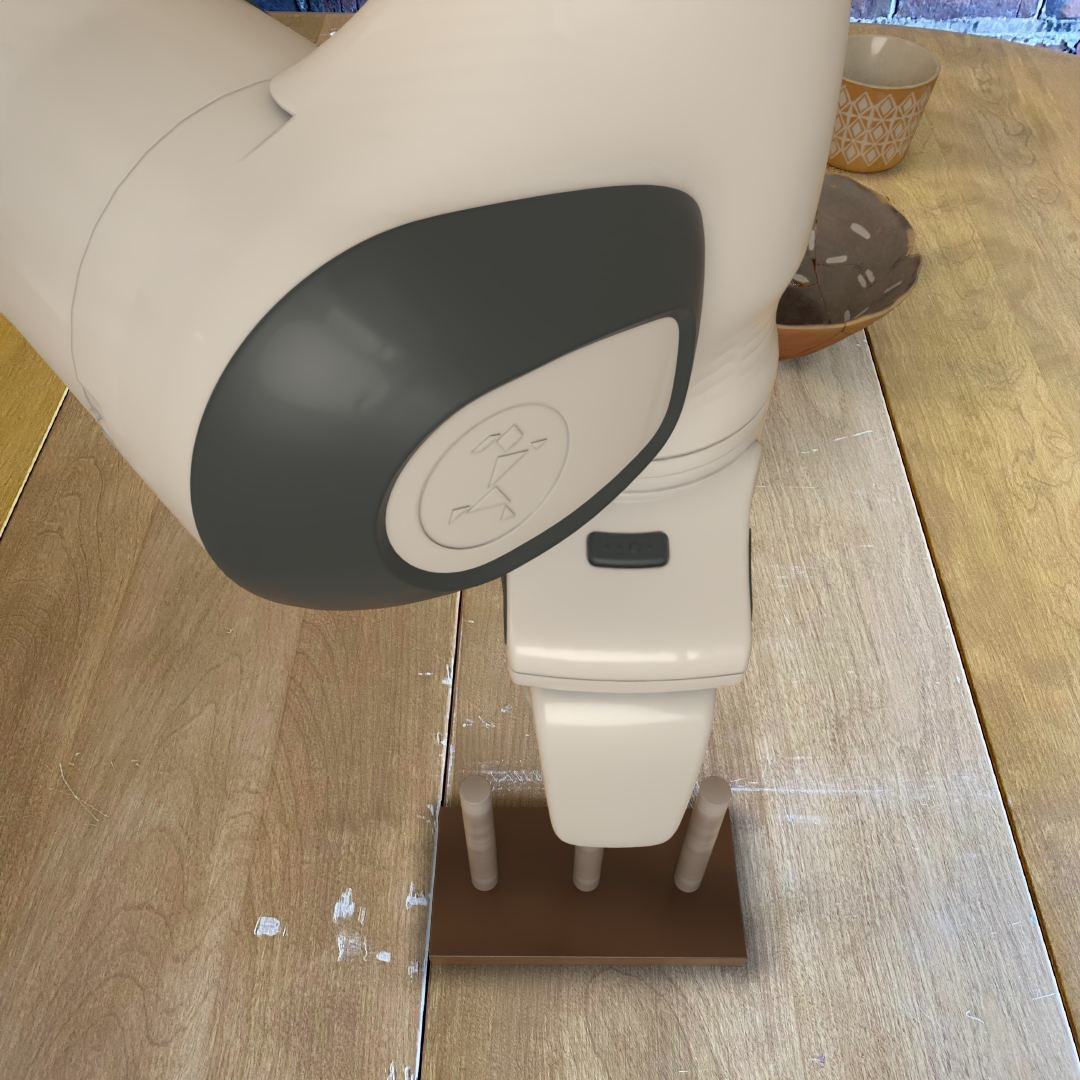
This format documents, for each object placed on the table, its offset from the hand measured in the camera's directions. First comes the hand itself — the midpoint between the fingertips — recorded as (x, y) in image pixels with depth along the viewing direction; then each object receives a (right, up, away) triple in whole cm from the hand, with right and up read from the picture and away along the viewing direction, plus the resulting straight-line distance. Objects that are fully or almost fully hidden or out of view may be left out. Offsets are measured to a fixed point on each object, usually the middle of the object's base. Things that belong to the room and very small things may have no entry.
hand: (595, 665), depth 41 cm
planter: (+34, +50, +73) cm, 95 cm away
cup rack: (0, -16, +19) cm, 24 cm away
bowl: (+18, +26, +53) cm, 61 cm away
